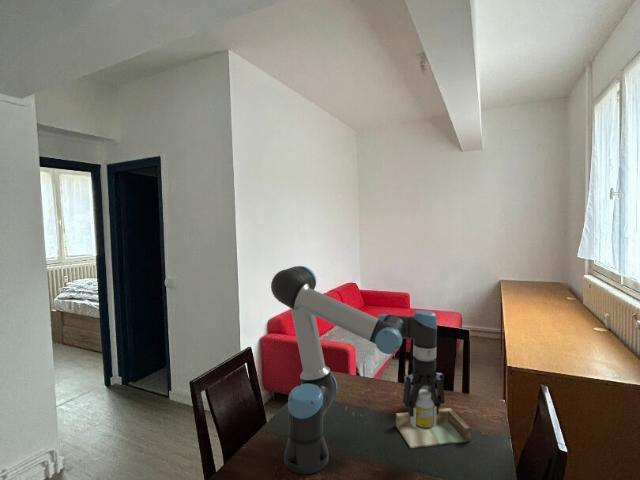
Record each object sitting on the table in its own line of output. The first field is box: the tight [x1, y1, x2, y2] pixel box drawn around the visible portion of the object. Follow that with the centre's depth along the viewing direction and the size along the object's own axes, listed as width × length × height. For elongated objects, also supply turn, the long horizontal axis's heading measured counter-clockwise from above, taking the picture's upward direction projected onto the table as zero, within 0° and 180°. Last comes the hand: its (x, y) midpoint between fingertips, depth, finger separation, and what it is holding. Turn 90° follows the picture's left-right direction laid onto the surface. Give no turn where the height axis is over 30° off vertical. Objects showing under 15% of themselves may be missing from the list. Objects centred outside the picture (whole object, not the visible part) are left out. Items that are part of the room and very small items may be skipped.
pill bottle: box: [415, 389, 434, 430], centre depth 116 cm, size 6×6×12 cm
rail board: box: [395, 407, 472, 449], centre depth 129 cm, size 23×14×5 cm, turn 99°
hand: (423, 423), depth 116 cm, fingers closed on pill bottle, 6 cm apart
